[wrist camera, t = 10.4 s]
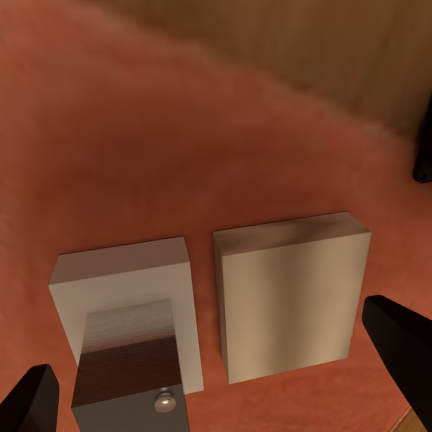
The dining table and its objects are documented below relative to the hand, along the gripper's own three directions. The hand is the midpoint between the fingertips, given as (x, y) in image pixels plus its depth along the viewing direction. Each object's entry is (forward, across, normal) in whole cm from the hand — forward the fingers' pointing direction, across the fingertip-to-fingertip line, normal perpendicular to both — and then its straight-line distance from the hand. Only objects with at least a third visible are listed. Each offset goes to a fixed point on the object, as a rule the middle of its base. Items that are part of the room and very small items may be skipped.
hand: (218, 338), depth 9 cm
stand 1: (+13, +4, +10) cm, 17 cm away
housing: (+10, +4, +10) cm, 15 cm away
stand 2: (+13, -7, +10) cm, 18 cm away
